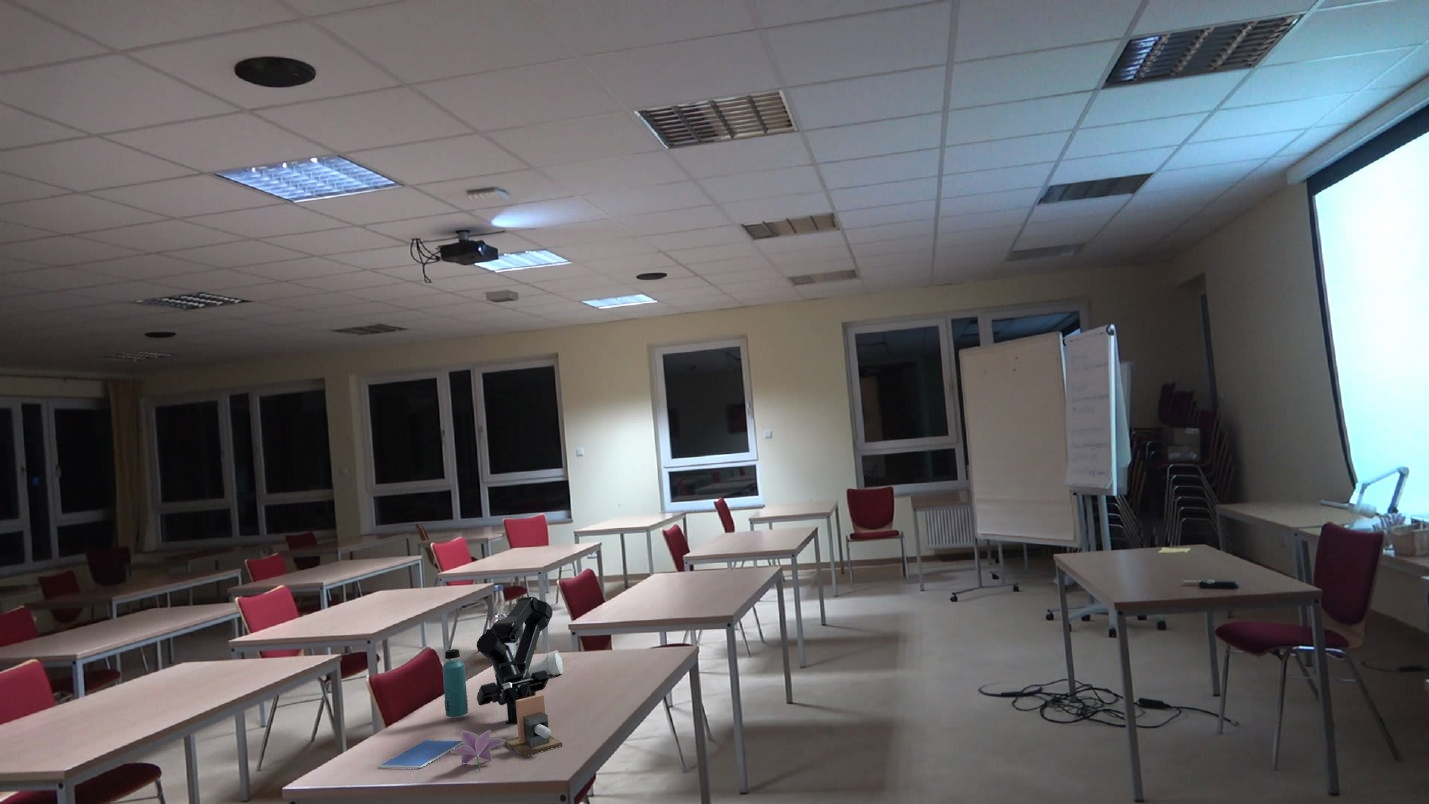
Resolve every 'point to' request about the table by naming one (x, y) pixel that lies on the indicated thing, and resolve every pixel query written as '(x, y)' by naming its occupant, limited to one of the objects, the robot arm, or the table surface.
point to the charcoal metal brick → (529, 735)
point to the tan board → (527, 750)
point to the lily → (476, 746)
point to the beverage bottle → (454, 685)
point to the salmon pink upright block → (528, 708)
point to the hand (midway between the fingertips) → (524, 714)
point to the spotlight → (548, 664)
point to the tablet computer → (421, 754)
